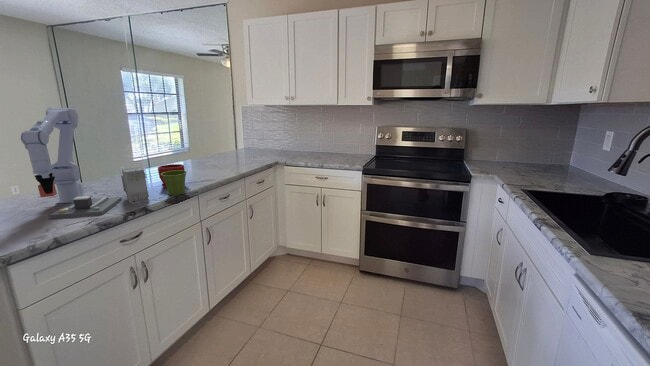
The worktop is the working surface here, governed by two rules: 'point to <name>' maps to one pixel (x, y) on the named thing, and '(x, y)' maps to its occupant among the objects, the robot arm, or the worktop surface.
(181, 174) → the plant pot
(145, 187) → the circuit breaker
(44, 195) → the red rectangular block
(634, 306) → the worktop surface
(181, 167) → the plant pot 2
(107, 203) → the breaker panel
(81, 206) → the breaker handle
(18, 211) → the worktop surface
